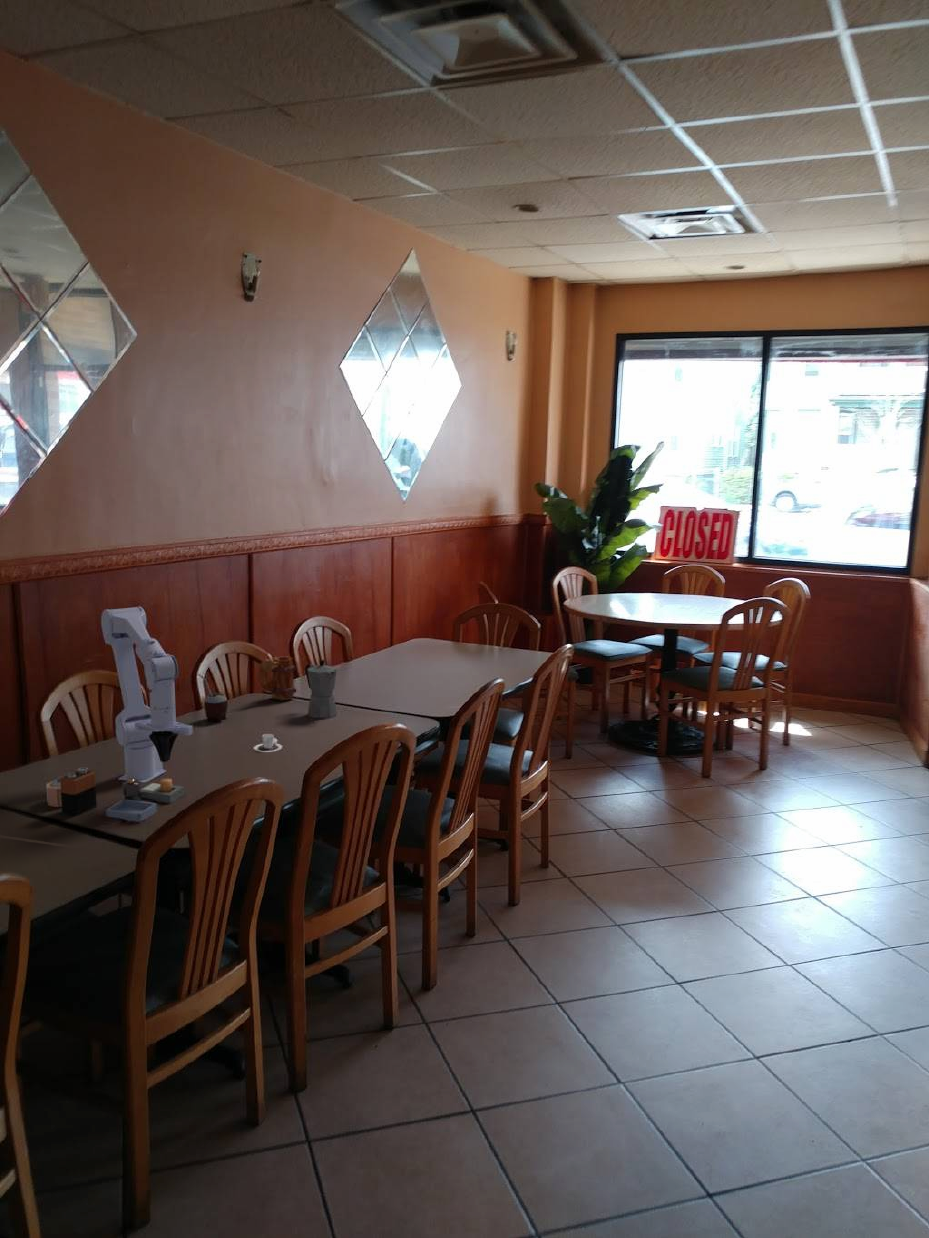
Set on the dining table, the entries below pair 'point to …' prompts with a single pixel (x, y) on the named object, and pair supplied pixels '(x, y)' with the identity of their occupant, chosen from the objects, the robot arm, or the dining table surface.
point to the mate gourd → (215, 705)
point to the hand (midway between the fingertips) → (165, 760)
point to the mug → (278, 677)
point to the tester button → (166, 785)
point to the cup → (53, 795)
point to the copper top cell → (131, 790)
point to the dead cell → (57, 782)
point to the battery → (78, 792)
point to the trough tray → (131, 810)
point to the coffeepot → (321, 690)
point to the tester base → (161, 793)
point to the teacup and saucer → (268, 743)
